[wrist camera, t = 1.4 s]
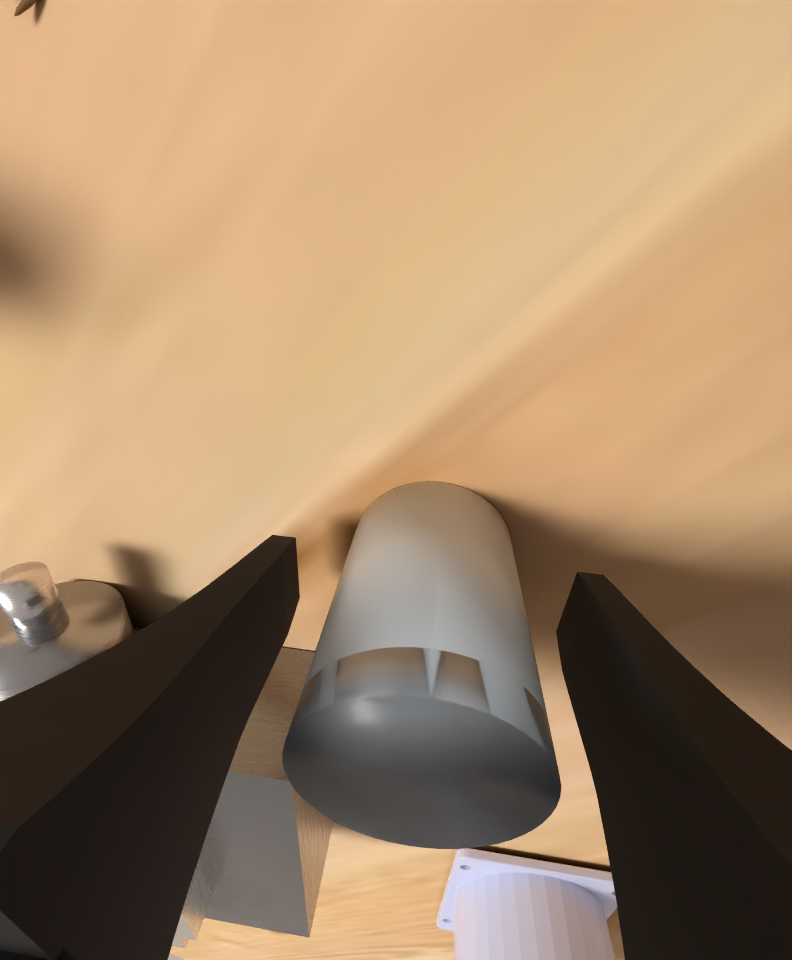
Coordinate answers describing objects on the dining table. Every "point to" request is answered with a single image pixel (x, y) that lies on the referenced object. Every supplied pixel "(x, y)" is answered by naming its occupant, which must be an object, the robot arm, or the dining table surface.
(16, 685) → the grey square pedestal
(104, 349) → the dining table surface
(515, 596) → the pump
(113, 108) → the dining table surface
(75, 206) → the dining table surface
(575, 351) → the dining table surface
